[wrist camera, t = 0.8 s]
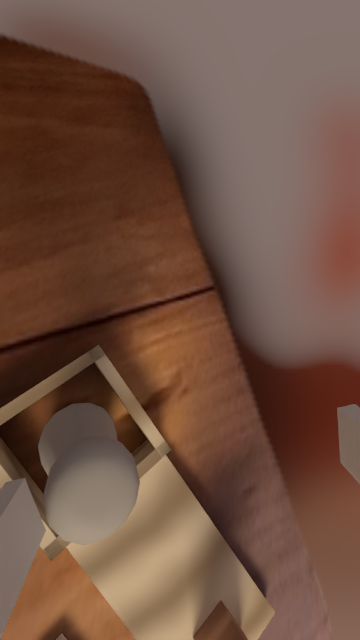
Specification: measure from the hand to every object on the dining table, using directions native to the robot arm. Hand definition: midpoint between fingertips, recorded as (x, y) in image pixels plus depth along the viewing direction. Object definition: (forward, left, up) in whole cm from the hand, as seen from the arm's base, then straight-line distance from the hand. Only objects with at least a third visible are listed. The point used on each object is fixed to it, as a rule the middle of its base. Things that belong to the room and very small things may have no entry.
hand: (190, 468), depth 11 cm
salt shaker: (-1, -5, -15) cm, 16 cm away
